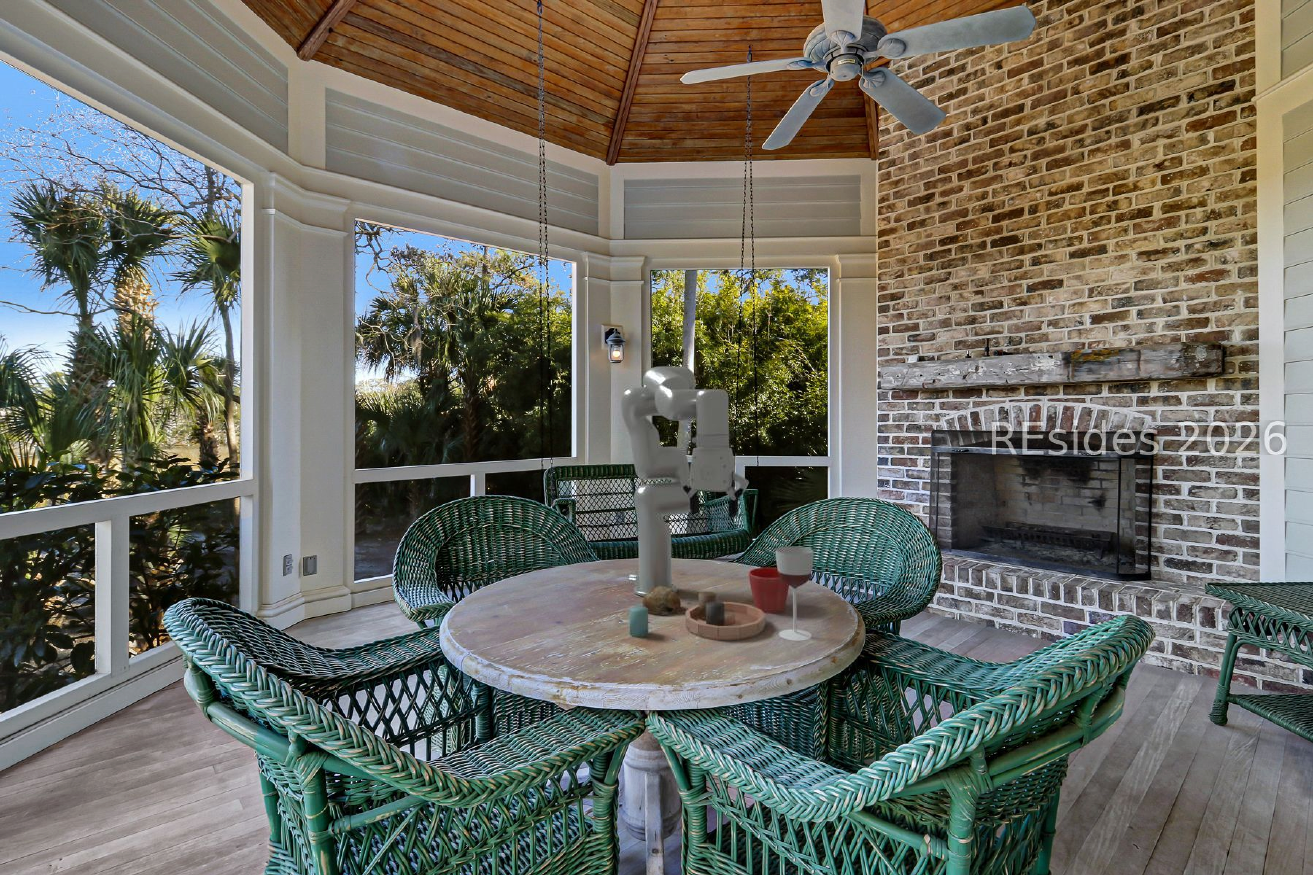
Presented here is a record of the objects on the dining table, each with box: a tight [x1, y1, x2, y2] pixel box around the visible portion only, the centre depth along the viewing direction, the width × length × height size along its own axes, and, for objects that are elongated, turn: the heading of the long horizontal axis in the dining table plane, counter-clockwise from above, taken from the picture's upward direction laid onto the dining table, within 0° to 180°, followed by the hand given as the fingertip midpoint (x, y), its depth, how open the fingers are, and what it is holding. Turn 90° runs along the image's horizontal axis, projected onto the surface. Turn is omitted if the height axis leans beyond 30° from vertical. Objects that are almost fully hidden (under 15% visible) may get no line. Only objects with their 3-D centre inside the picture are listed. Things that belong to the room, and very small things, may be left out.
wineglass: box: [775, 546, 814, 642], centre depth 152 cm, size 8×9×20 cm
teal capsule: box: [628, 605, 649, 638], centre depth 155 cm, size 4×4×6 cm
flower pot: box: [748, 567, 790, 614], centre depth 172 cm, size 11×11×10 cm
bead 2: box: [698, 591, 717, 621], centre depth 162 cm, size 4×4×6 cm
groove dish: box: [685, 601, 766, 641], centre depth 159 cm, size 19×19×3 cm
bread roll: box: [641, 586, 682, 616], centre depth 173 cm, size 10×10×8 cm
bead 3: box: [706, 600, 725, 626], centre depth 154 cm, size 4×4×6 cm
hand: (713, 514), depth 153 cm, fingers open, 9 cm apart
